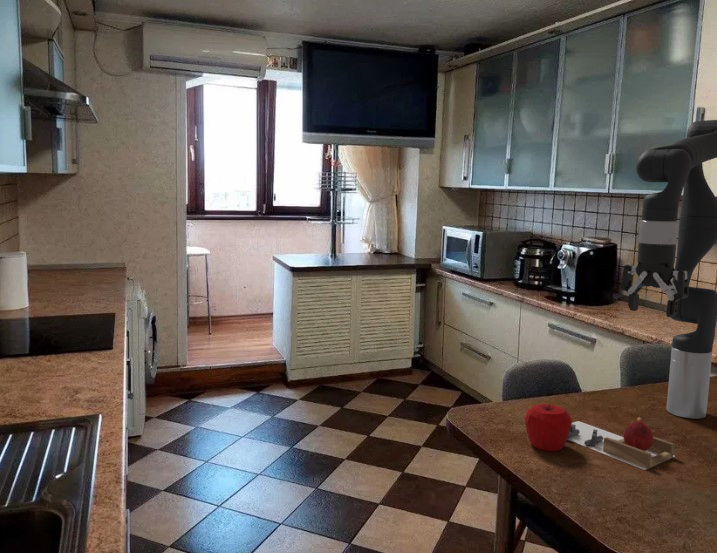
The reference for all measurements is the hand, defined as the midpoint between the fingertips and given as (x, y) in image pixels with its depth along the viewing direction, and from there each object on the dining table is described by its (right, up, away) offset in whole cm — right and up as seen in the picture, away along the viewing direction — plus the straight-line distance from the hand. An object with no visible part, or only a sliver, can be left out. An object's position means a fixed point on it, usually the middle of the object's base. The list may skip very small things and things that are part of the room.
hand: (651, 313), depth 136 cm
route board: (-11, -30, -1) cm, 32 cm away
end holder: (-6, -30, -6) cm, 31 cm away
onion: (-6, -30, -6) cm, 31 cm away
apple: (-24, -30, -2) cm, 39 cm away
